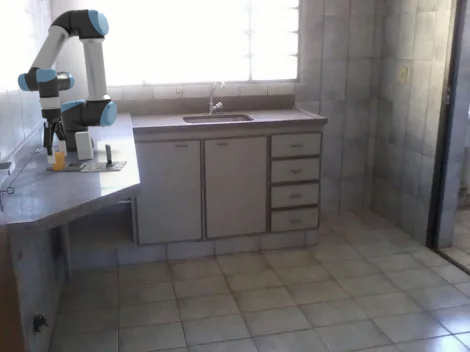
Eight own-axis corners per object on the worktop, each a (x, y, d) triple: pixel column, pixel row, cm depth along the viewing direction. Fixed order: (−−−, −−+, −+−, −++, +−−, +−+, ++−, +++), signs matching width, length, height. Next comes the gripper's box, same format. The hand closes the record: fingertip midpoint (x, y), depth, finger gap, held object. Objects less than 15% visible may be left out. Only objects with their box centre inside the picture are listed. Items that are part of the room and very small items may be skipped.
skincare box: (94, 157, 223) (90, 130, 220) (92, 159, 219) (88, 132, 216) (80, 158, 223) (76, 131, 219) (78, 160, 218) (74, 133, 215)
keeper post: (89, 164, 211) (86, 142, 208) (126, 162, 211) (124, 141, 208) (80, 172, 198) (77, 149, 196) (120, 170, 198) (117, 147, 195)
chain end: (44, 172, 201) (41, 155, 199) (50, 167, 208) (48, 151, 206) (81, 170, 201) (78, 153, 199) (86, 165, 208) (84, 149, 206)
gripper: (52, 104, 210) (59, 153, 215) (29, 112, 185) (37, 166, 191) (70, 103, 210) (76, 152, 215) (48, 111, 185) (56, 166, 191)
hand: (57, 159), depth 203 cm, fingers open, 13 cm apart
